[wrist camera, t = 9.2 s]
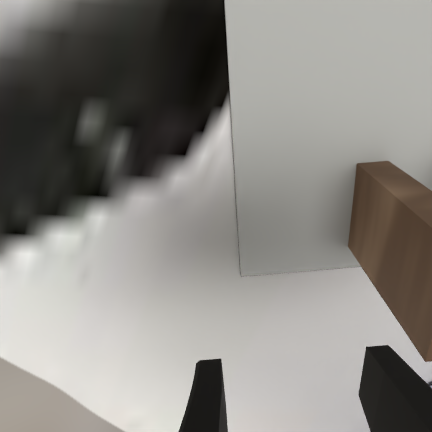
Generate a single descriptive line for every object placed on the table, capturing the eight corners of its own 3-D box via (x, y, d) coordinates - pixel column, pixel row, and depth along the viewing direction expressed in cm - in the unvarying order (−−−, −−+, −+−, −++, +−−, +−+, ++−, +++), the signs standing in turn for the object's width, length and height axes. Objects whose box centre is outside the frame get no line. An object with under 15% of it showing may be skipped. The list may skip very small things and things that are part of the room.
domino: (388, 160, 18) (508, 244, 11) (375, 244, 20) (468, 358, 13) (356, 163, 18) (456, 248, 11) (347, 246, 20) (425, 361, 13)
